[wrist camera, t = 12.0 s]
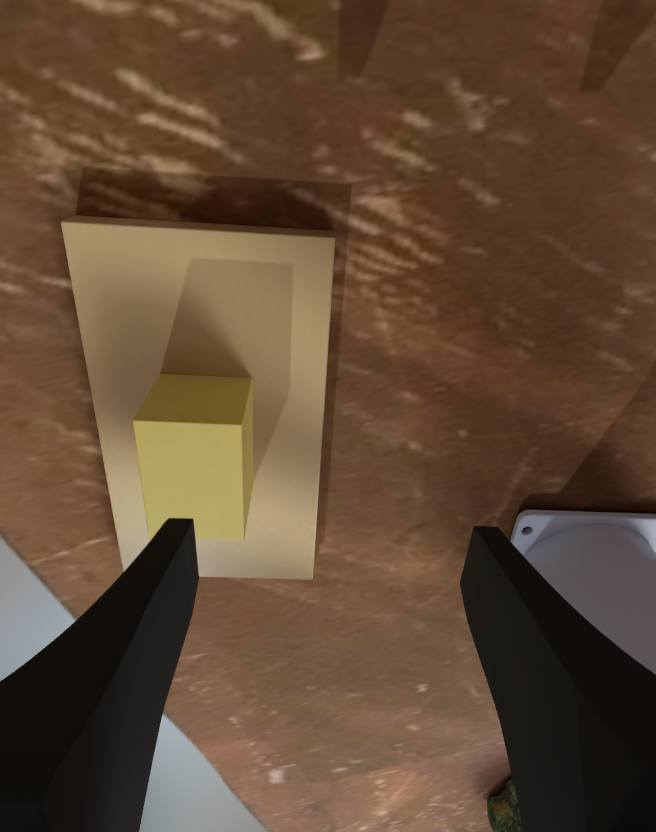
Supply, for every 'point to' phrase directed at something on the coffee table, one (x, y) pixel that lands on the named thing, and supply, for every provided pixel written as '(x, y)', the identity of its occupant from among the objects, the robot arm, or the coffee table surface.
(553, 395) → the coffee table surface
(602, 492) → the coffee table surface
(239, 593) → the coffee table surface
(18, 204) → the coffee table surface
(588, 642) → the robot arm
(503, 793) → the seashell
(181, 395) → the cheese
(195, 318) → the board
